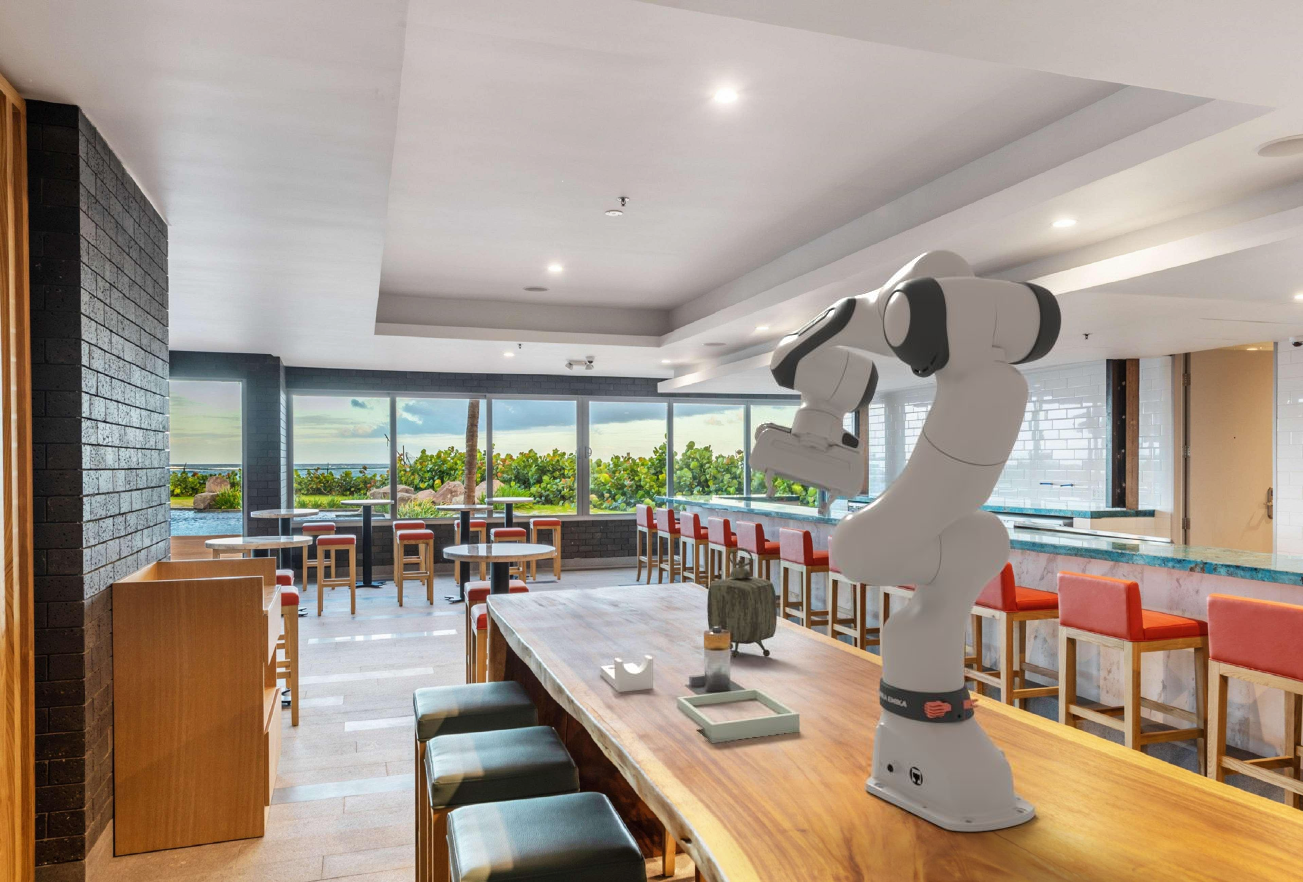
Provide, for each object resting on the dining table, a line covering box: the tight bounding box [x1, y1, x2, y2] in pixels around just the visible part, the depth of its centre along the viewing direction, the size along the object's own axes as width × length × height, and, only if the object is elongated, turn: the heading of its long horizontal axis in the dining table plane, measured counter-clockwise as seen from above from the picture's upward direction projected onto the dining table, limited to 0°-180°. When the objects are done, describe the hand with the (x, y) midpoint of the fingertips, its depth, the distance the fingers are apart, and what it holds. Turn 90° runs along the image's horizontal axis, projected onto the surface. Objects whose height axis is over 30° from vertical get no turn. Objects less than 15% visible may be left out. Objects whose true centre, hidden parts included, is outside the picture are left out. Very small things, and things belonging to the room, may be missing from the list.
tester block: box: [684, 673, 747, 695], centre depth 157 cm, size 10×10×3 cm
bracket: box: [599, 654, 654, 693], centre depth 164 cm, size 13×7×8 cm, turn 19°
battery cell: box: [703, 626, 732, 693], centre depth 157 cm, size 5×5×12 cm
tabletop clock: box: [706, 547, 778, 658], centre depth 190 cm, size 14×9×25 cm, turn 47°
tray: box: [676, 687, 801, 744], centre depth 142 cm, size 16×16×3 cm
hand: (795, 505), depth 142 cm, fingers open, 8 cm apart
